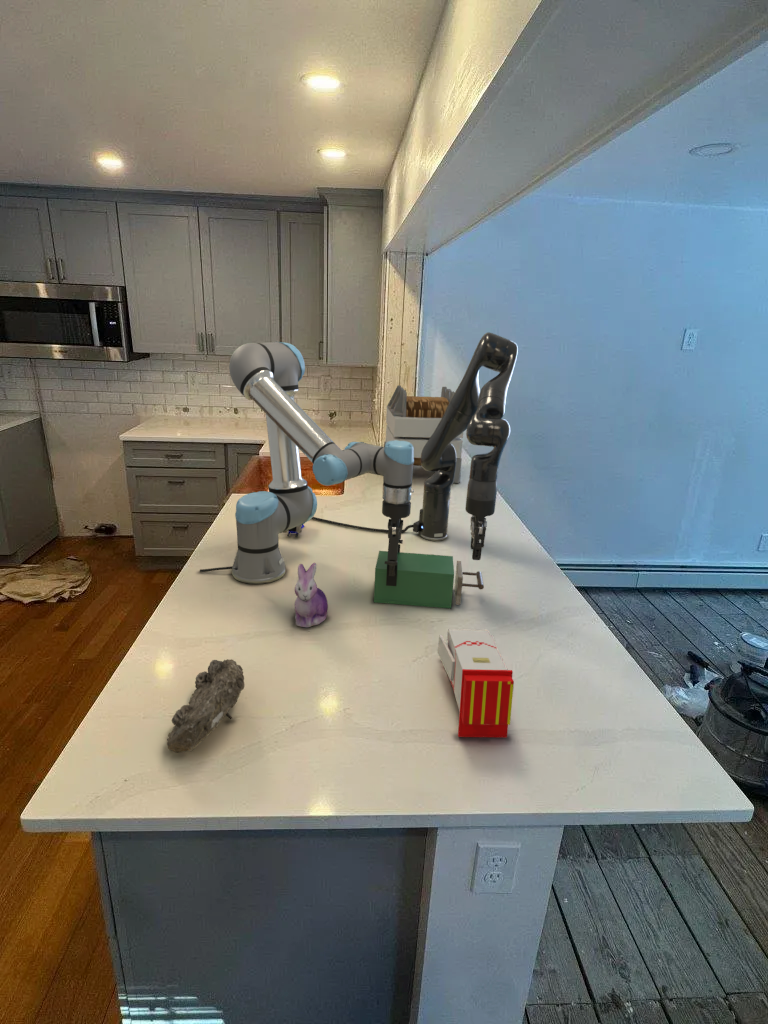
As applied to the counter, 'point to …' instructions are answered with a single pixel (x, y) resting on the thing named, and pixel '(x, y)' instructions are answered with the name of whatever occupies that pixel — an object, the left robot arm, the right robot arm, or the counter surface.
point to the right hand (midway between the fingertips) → (475, 553)
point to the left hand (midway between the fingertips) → (392, 575)
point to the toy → (478, 682)
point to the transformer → (419, 422)
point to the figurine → (309, 599)
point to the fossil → (206, 705)
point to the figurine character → (294, 530)
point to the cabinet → (416, 580)
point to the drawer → (459, 583)
